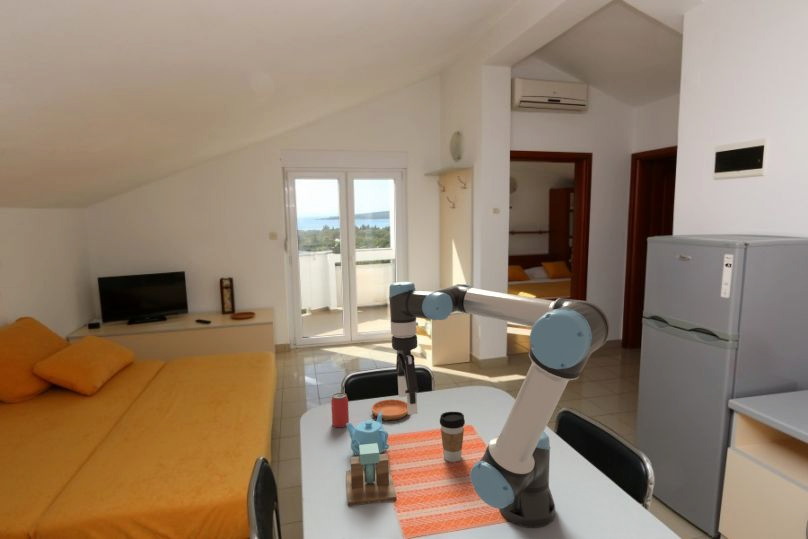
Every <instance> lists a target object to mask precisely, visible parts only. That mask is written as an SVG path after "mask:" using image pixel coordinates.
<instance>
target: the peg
mask: <svg viewBox="0 0 808 539" xmlns="http://www.w3.org/2000/svg"><path fill="white" fill-rule="evenodd" d="M359 455H360V463H361V465H362V464H363V469H364V473H365V482H366V483H373V482H374V481H375V468H376V463H379V449H378V444H377V443H374V444H364V445H359Z"/></svg>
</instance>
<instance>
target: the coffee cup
mask: <svg viewBox="0 0 808 539" xmlns="http://www.w3.org/2000/svg"><path fill="white" fill-rule="evenodd" d="M465 424H466V421H465V415H464V413H462V412H459V411H446V412H443V413H442V414H440V418H439V425H440V426H441V427H440V434H441V443H442V451H443V459H444V460H446V461H447V462H452V463H456V462H458V461H460V460H462V452H463V451H462V450H463V443H464V434H465V433H464V431H465V429H464V428H465V427H464V425H465Z"/></svg>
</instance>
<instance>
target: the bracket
mask: <svg viewBox="0 0 808 539" xmlns="http://www.w3.org/2000/svg"><path fill="white" fill-rule="evenodd" d="M390 467H391V466H390V465H389V457H388V453H380V454H379V463H375V481H374V482H373V483H366V482H365V473H364V464H362V465H361V463H360V456H351V457H350V470H345V473H346V474H345V476H346V477H345V478H346V493H347V495H346V496H347V506H356V505H358V506H359V505H365V504H373V503H381V502H389V501H396V500H398V499H397V492H396V489H395V485H394V480H393V476H392V472H391V468H390Z"/></svg>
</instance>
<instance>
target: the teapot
mask: <svg viewBox="0 0 808 539" xmlns="http://www.w3.org/2000/svg"><path fill="white" fill-rule="evenodd" d="M382 414H383V412H380V413H379V415H378V417H377V419H376V421H375V420H371V419H370V420H364V421H362V422H359V424H358V425H357V426H356V427H355V426H353V424H352V423H351V422H349V423H347V424H346V426H345V427H346V429H347V431H348V433H349V437H350V439H351V441H350V449H351V451H352V452H353V453H354V455H355V457H359V456H360V455H359V445H364V444H374V443H377V444H378V449H379V454H382V453H383V452H384V451H387V450H389V449H390V445H389V443H388V438H389V432H388V430H386V429H385V428H384V426H383V422H382V421H383V419H382Z"/></svg>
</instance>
